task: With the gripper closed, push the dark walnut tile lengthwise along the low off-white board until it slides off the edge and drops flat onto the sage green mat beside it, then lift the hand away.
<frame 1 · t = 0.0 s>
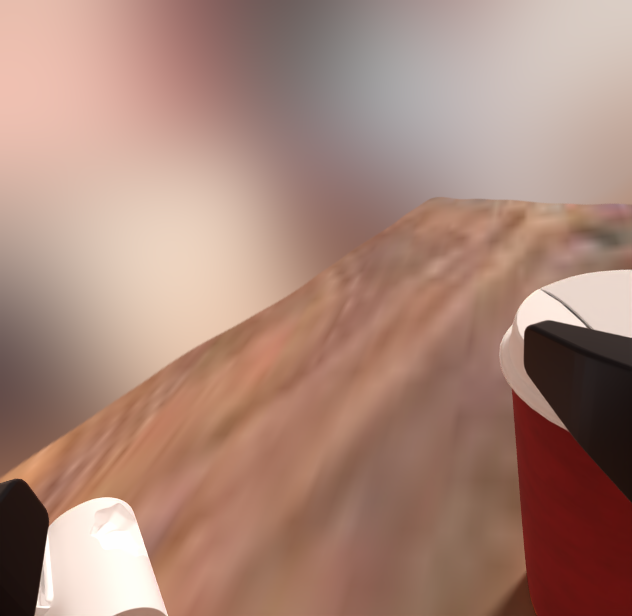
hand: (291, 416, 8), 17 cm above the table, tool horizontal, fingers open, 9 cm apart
paper cup: (601, 605, 19), on the table
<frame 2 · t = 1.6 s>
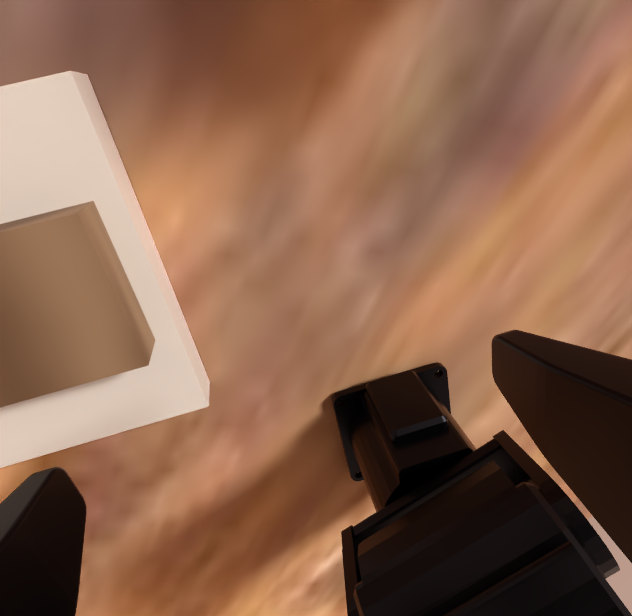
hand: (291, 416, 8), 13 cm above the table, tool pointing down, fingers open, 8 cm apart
walnut tile: (23, 303, 17), point 2 cm above the table, touching deck
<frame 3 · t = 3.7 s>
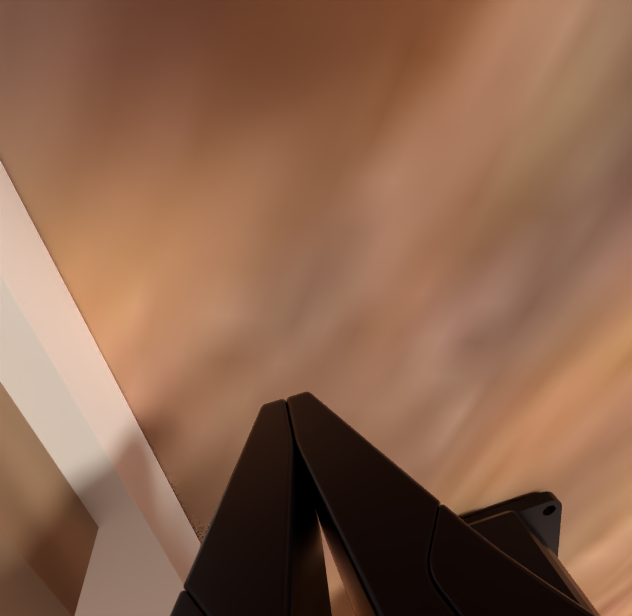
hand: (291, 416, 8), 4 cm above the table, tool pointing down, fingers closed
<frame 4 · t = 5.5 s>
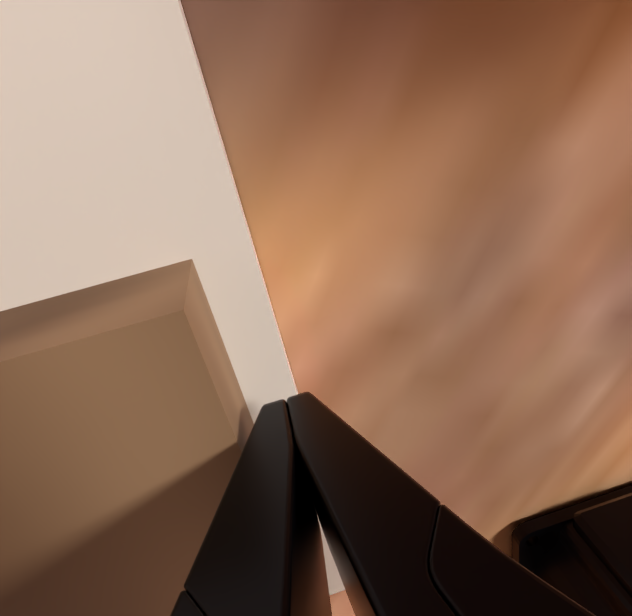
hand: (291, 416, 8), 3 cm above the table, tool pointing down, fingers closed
walnut tile: (39, 460, 8), point 2 cm above the table, touching deck, gripper
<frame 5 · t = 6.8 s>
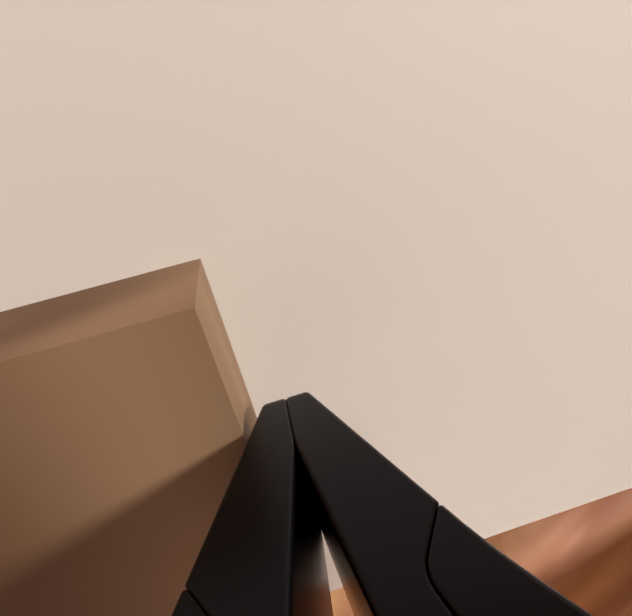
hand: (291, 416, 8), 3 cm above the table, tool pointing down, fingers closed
walnut tile: (47, 456, 8), point 2 cm above the table, touching gripper
deck: (317, 324, 11), on the table
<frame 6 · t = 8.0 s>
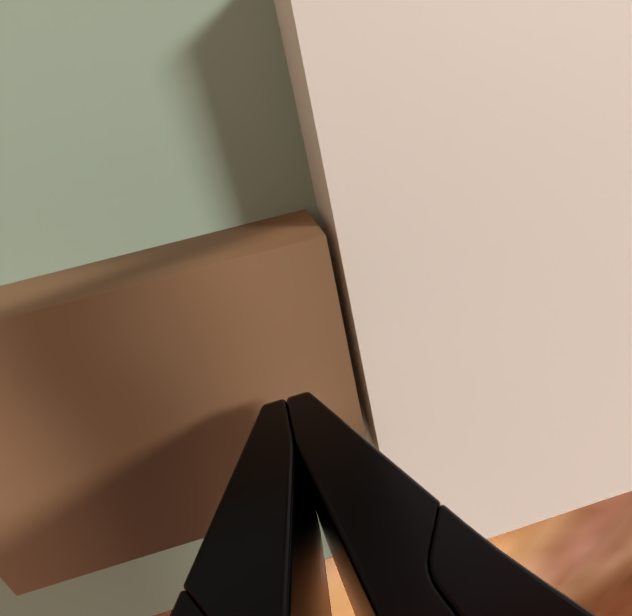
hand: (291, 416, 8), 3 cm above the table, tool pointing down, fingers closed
walnut tile: (164, 378, 10), resting on mat
mat: (50, 400, 10), on the table
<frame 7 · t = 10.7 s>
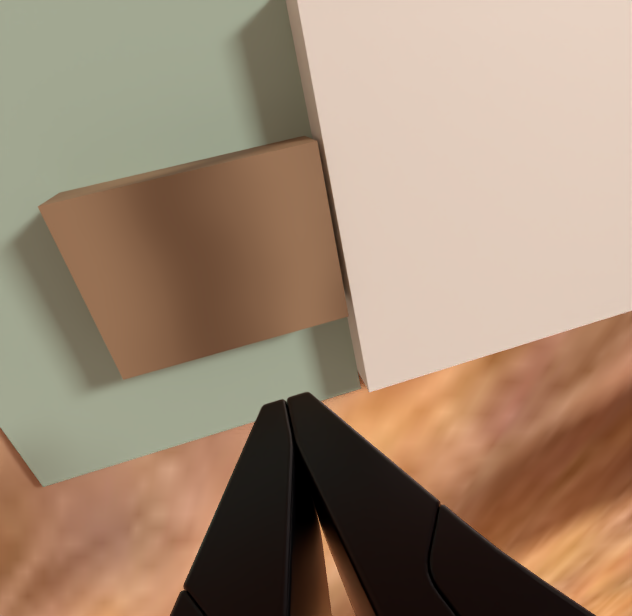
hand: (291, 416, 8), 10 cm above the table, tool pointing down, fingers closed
walnut tile: (213, 249, 16), resting on mat
deck: (520, 163, 17), on the table
mat: (137, 264, 16), on the table
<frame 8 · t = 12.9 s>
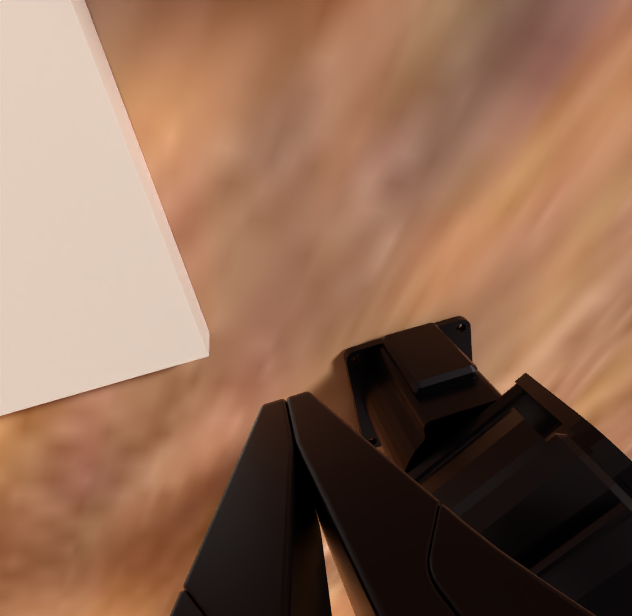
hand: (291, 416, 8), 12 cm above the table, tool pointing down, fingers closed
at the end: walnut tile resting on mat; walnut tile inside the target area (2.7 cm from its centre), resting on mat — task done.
